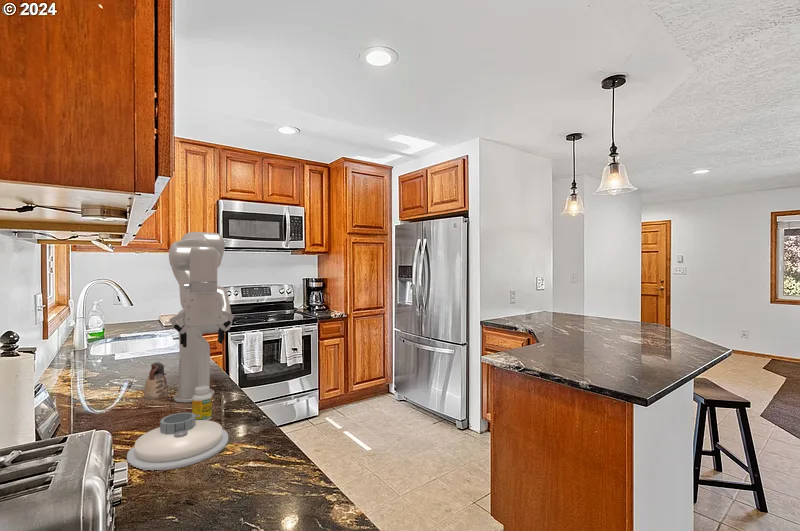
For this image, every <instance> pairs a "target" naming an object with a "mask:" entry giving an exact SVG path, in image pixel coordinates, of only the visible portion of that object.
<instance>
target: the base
mask: <svg viewBox="0 0 800 531" xmlns="http://www.w3.org/2000/svg"><path fill="white" fill-rule="evenodd" d="M228 444H229V434H228V432H227V431H226V430H225V429H223V428H222V439H221V440H220V442H219V443H218V444H217V445H215V446H214V447H212V448H211V449H209V450H207V451H205V452H203V453H200V454H197V455H194V456H191V457H188V458H184V459H179V460H174V461H166V462H149V461H144V460H141V459H139V458H137V457H136V456H135V444H134V445H132V447H131V448H130V449H129V450H128V452H127V454H126V462H127V461H128V463H130V465H132V466H134V467H136V468H139V469H143V470H142V471H147V470H151V471H152V472H154V470H157V471H158V470H159V471H167V470H169V471H170V470H174V469H181V468H183V467H188V466H191V465H194V464H198V463H201V462H203V461H205V460H208V459H210V458H211V457H215V455H217V454H219V453H220V452H221V451H223V450H224V449H225V448H226V447H227V445H228ZM128 463H127V464H128ZM130 465H129V466H130ZM139 469H138V470H139ZM151 471H150V472H151ZM159 471H158V472H159Z"/></svg>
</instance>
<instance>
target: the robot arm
mask: <svg viewBox="0 0 800 531" xmlns="http://www.w3.org/2000/svg"><path fill="white" fill-rule="evenodd" d="M225 244H226V243H225V240H224V237H223V236H222V235H221V234H220V233H217V232H205V231H203V232H202V231H201V232H200V231H191V232H186V233H185V234H184V235H183V236H182V237H181V239H180V240H178V241H174V242H172V244H171V245H170V247H169V249H168V250H169V251H168V261H169V265H170V267H171V270H172V273H173V276H174V278H175V280H176V281H177V283H178V285H179V301H180V306H181V308H182V309H180V311H179V312H178V313H177V315H175V316H172V317H170V319H169V322H170V324H171V326H172V327H173V328H174V329H175V330H176V331H177V332H178V343H179V345H178V346H179V347H178V348H179V352H178V353H179V356H178V357H179V359H178V362H179V364H178V367H179V369H178V372H179V373H178V382H177V384H175V385H174V386H173V389H175V390H177V393H175V394H174V396H173V401H174V402H178V403H192V397H193V396H194V395H195V388H196V387H199V386H211V384H210V382H211V380H210V378H211V373H210V372H211V369H210V368H211V367H210V366H211V346H210V344H209V341H208V340H207V339H206V338H205V337H203V335H205V334H213V333H215V334H216V333H217V343H218V344H223V341H225V333H226V332H227V331H230V329H231V327H232V324H233V320H234V318H235V315H234V314H232V309H231V305H230V304H231V303H230V300H229V299H230V298H229V295H228V291H227V289H226V288H225V287H224V286H220V285H218V268H219V267H220V266H221V265H222V264H221V263H222V259H223V256H224V253H225V247H226V246H225ZM209 393H211V394H212V397H213V396H214V395H215V390H214V389H212V388H210V391H209Z"/></svg>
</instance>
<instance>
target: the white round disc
mask: <svg viewBox="0 0 800 531" xmlns="http://www.w3.org/2000/svg"><path fill="white" fill-rule="evenodd" d="M159 423H160V424H159V425H160V426H159V427H156V428H154V429H151V430H150V431H147V432H145V433H143V434H142V435H141V436H139V438H137V439H136V440H135V443H134V445H135V456H136V457H137V458H139V459H141V460H144V461H149V462H166V461H174V460H179V459H184V458H188V457H191V456H194V455H197V454H200V453H203V452H205V451H207V450H209V449H211V448H212V447H214V446H215V445H217V444H218V443H219V442H220V440H221V439H222V429H223V427H222V425H221V424H220V423H219V422H216V421H213V420H208V421H207V420H196V416H195V414H194V413H192V412H178V413H172V414H169V415H167V416H164V417H162V418H161V419H160V421H159Z"/></svg>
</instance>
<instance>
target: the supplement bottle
mask: <svg viewBox="0 0 800 531" xmlns="http://www.w3.org/2000/svg"><path fill="white" fill-rule="evenodd" d="M210 386H211V385H210ZM210 386H199V387H196V388H195V395H194V396H193V397H192V402H191V413H194V414H195V416H196V420H207V421H211V419H212V417H213V396H212V394H211V393H209V391H210V389H211V388H210Z"/></svg>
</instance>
